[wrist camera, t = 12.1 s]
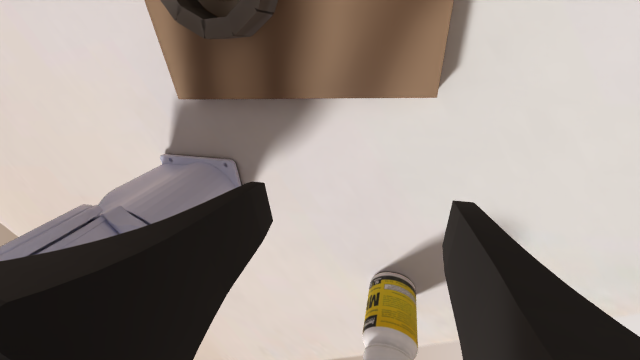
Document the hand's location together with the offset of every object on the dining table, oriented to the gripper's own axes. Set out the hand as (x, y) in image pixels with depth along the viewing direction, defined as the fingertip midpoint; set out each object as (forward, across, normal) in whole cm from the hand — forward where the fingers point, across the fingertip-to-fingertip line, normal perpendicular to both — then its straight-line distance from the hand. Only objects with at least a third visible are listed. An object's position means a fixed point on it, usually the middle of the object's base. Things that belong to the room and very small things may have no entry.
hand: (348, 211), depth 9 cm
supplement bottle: (+11, -2, +18) cm, 21 cm away
